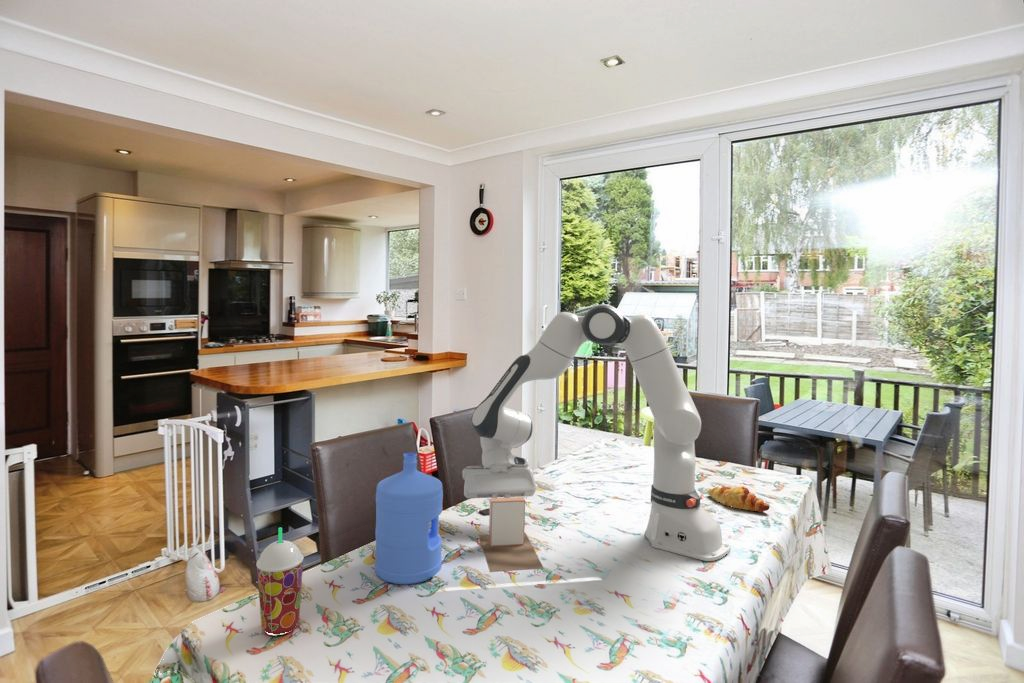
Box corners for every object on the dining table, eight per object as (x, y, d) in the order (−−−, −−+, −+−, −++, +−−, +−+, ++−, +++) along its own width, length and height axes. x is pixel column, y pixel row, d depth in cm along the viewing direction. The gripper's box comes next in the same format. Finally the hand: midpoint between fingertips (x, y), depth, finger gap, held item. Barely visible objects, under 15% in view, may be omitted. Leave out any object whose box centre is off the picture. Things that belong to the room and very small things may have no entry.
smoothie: (266, 616, 112) (265, 519, 110) (308, 615, 112) (308, 519, 111) (249, 642, 103) (249, 537, 102) (296, 641, 104) (296, 536, 103)
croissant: (702, 507, 189) (697, 489, 186) (717, 488, 194) (712, 470, 192) (764, 526, 173) (760, 506, 170) (778, 505, 178) (773, 486, 176)
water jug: (384, 592, 122) (386, 467, 120) (368, 561, 136) (369, 449, 134) (451, 577, 129) (453, 459, 127) (429, 550, 143) (430, 443, 141)
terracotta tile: (488, 542, 147) (489, 498, 146) (522, 540, 148) (523, 496, 148) (490, 547, 144) (491, 501, 143) (524, 545, 146) (525, 500, 145)
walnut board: (478, 537, 152) (478, 534, 152) (525, 535, 154) (525, 532, 154) (490, 575, 131) (490, 571, 131) (543, 571, 133) (543, 568, 133)
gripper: (462, 460, 157) (465, 507, 148) (533, 459, 161) (540, 504, 152) (460, 471, 161) (463, 517, 153) (529, 469, 165) (535, 514, 156)
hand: (502, 511), depth 152 cm, fingers closed
